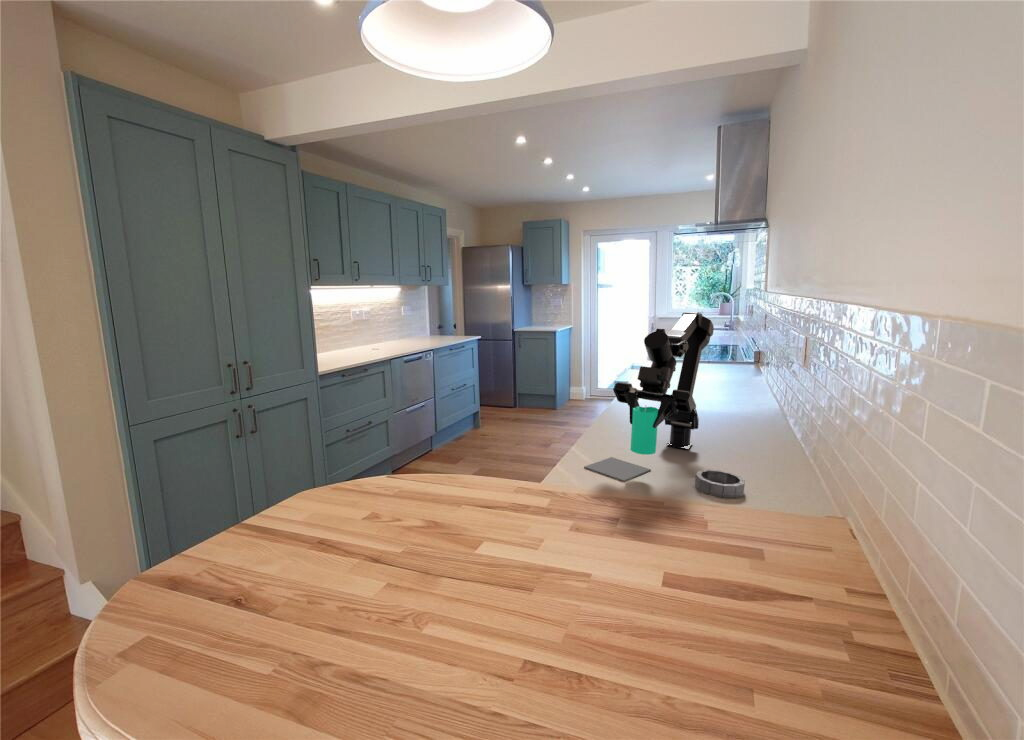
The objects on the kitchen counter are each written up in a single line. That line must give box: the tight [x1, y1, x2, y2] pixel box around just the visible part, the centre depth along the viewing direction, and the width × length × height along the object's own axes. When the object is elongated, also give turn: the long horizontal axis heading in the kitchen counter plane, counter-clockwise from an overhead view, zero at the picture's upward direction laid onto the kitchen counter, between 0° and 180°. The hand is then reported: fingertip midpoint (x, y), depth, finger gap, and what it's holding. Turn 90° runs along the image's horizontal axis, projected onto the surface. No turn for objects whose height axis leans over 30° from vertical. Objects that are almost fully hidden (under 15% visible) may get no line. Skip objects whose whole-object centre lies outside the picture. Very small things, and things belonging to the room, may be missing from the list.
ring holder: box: [694, 468, 746, 500], centre depth 112 cm, size 10×10×3 cm
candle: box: [630, 405, 659, 456], centre depth 117 cm, size 6×6×12 cm
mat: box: [583, 456, 652, 483], centre depth 123 cm, size 12×12×1 cm
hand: (642, 425), depth 116 cm, fingers closed on candle, 5 cm apart
